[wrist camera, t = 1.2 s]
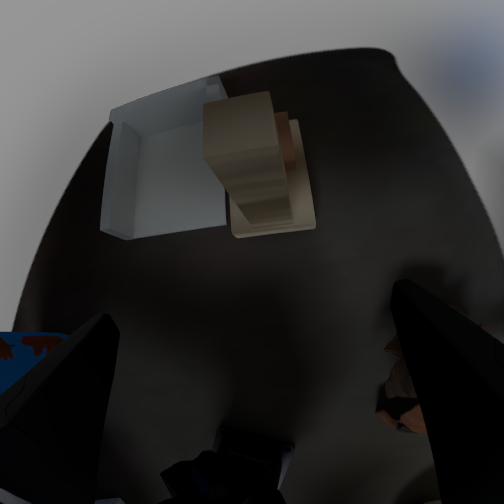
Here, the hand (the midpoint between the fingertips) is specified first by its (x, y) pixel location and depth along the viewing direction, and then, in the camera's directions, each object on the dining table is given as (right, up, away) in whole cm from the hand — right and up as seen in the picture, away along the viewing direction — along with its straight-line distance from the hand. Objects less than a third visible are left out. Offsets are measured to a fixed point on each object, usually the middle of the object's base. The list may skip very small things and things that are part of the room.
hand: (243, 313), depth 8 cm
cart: (+2, +7, +15) cm, 17 cm away
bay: (-7, +10, +17) cm, 21 cm away
